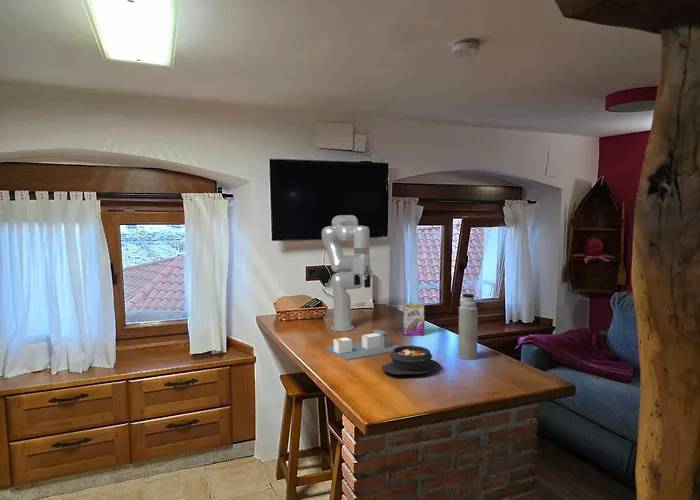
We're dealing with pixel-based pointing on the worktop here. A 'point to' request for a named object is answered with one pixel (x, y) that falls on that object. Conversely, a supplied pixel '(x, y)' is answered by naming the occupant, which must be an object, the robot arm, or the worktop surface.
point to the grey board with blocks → (368, 346)
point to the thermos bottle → (468, 328)
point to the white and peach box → (342, 345)
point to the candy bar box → (413, 318)
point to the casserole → (410, 361)
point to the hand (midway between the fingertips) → (362, 286)
